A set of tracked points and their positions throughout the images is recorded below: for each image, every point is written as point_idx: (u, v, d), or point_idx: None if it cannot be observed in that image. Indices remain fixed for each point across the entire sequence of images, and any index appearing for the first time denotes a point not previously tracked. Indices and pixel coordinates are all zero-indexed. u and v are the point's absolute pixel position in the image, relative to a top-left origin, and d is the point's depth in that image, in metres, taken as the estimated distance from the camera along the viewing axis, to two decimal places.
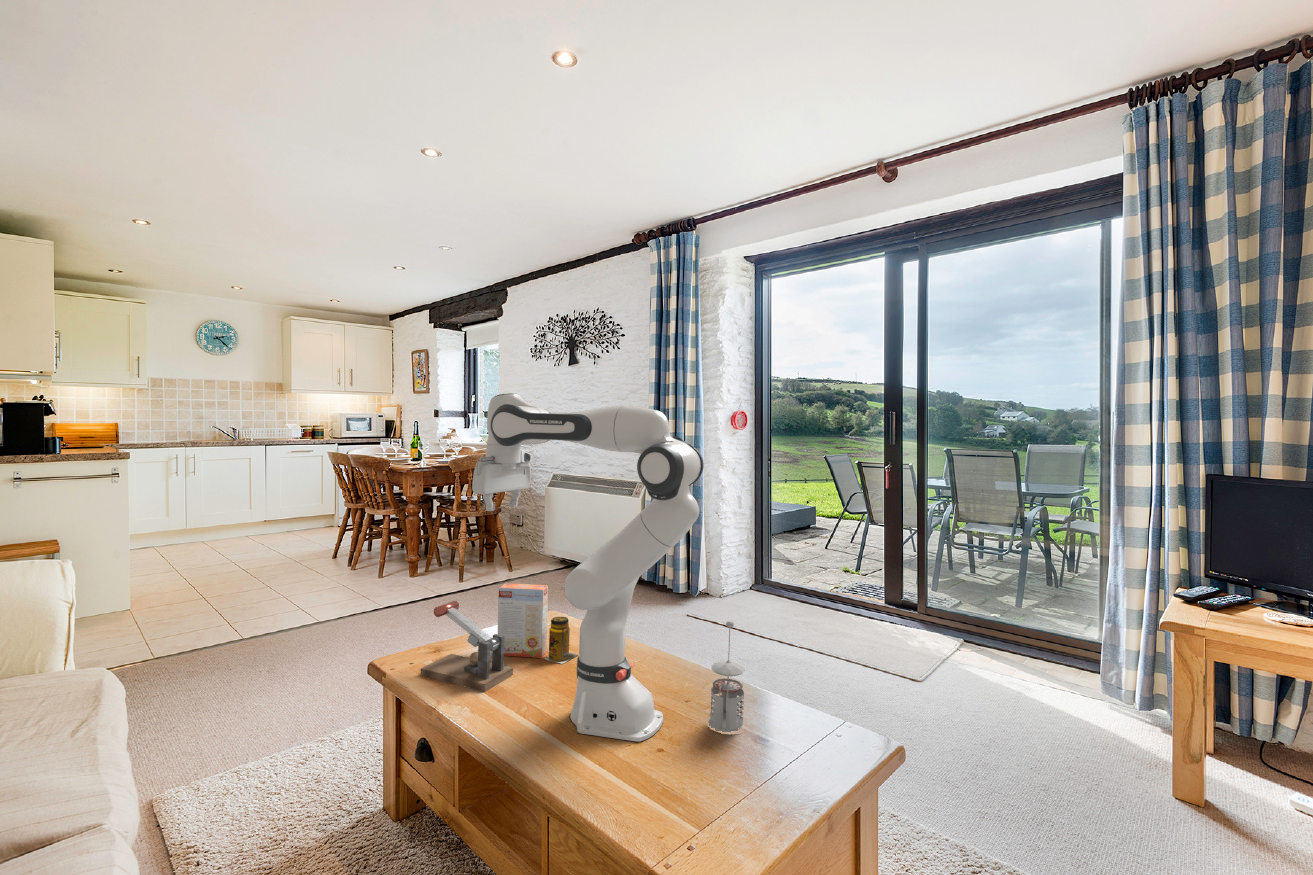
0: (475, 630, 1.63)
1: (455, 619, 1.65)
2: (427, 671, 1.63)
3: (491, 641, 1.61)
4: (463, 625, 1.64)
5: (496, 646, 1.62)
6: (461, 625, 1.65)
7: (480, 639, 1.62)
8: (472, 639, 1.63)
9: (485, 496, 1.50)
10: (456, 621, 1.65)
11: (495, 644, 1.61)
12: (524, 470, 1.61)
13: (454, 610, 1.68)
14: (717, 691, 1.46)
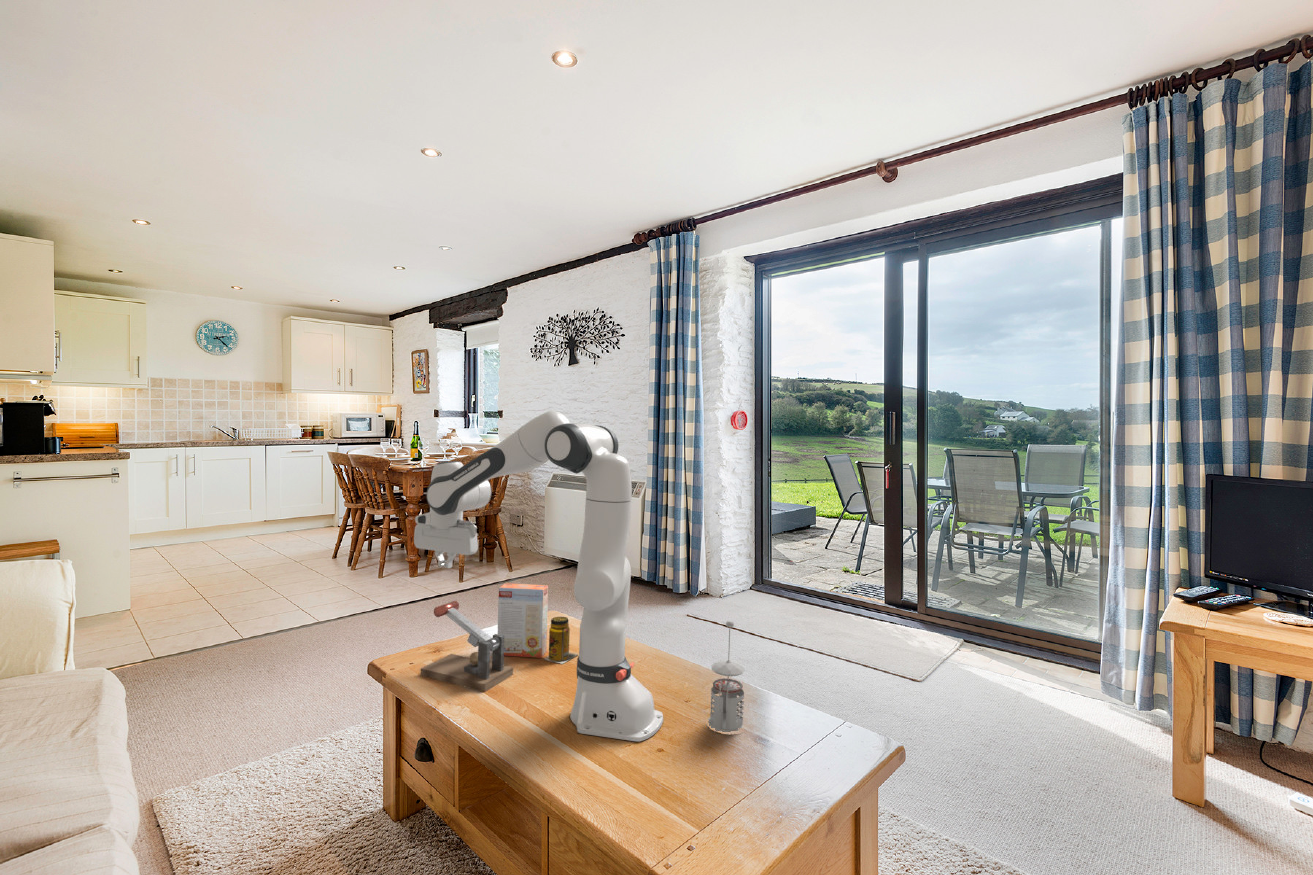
0: (475, 630, 1.63)
1: (455, 619, 1.65)
2: (427, 671, 1.63)
3: (491, 641, 1.61)
4: (463, 625, 1.64)
5: (496, 646, 1.62)
6: (461, 625, 1.65)
7: (480, 639, 1.62)
8: (472, 639, 1.63)
9: (452, 555, 1.67)
10: (456, 621, 1.65)
11: (495, 644, 1.61)
12: None
13: (454, 610, 1.68)
14: (717, 691, 1.46)
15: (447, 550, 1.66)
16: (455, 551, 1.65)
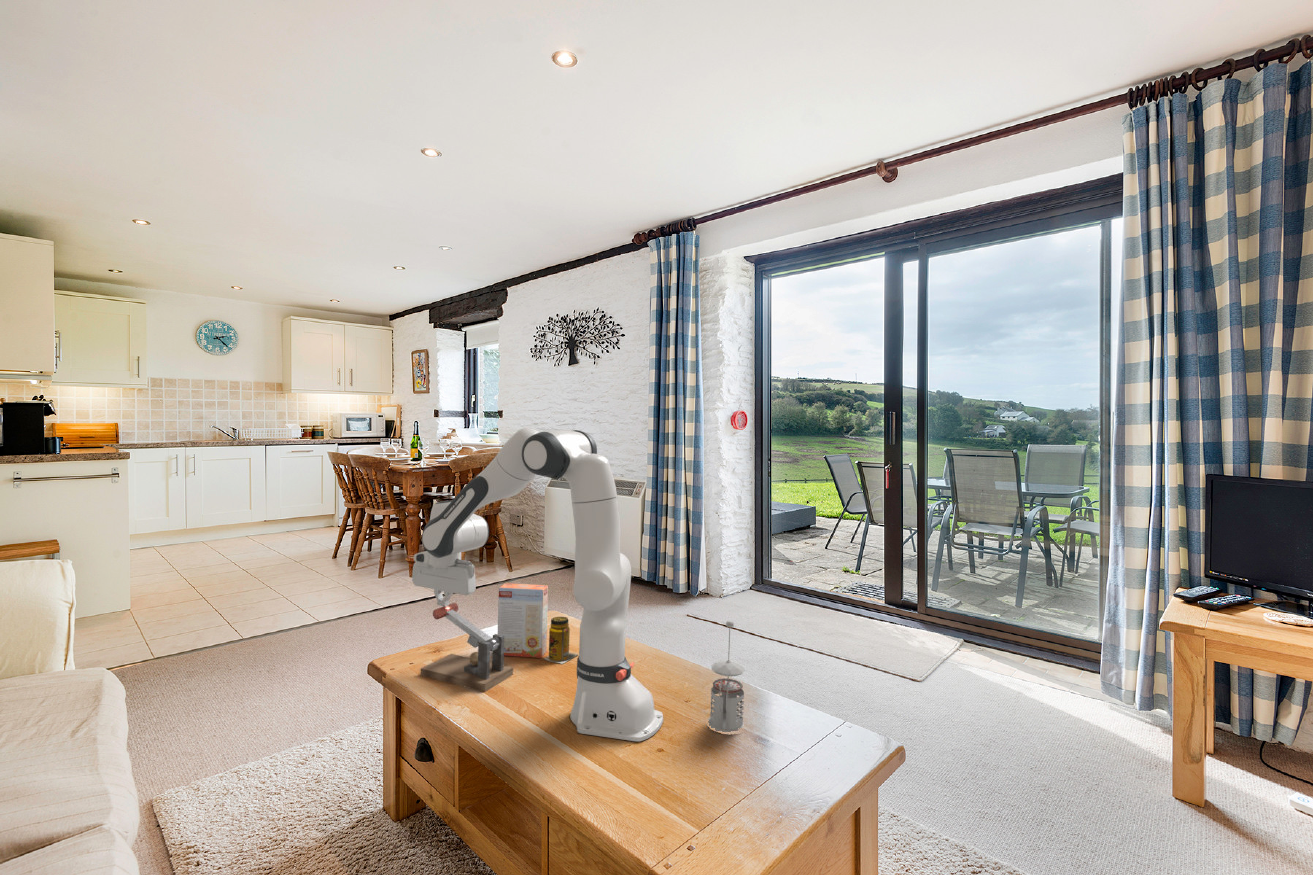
0: (474, 631, 1.63)
1: (455, 621, 1.65)
2: (427, 671, 1.63)
3: (491, 641, 1.61)
4: (462, 626, 1.64)
5: (496, 646, 1.62)
6: (461, 626, 1.65)
7: (480, 639, 1.62)
8: (472, 640, 1.63)
9: (449, 593, 1.67)
10: (455, 623, 1.65)
11: (495, 644, 1.61)
12: None
13: (453, 612, 1.68)
14: (717, 691, 1.46)
15: (445, 589, 1.66)
16: (453, 591, 1.65)
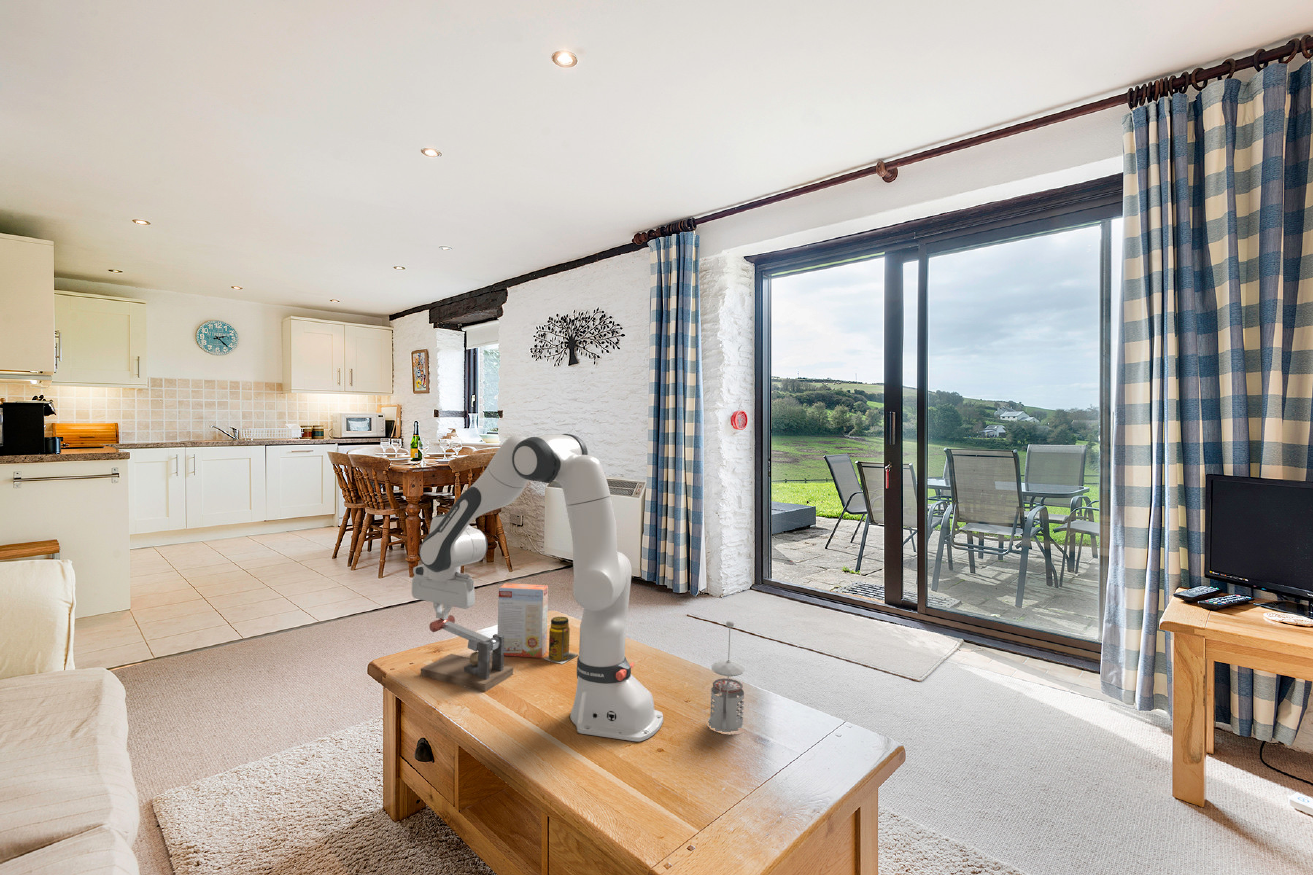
0: (473, 635, 1.63)
1: (452, 630, 1.66)
2: (427, 671, 1.63)
3: (490, 640, 1.61)
4: (461, 633, 1.65)
5: (496, 645, 1.62)
6: (459, 634, 1.65)
7: None
8: (472, 644, 1.63)
9: (448, 606, 1.67)
10: (453, 632, 1.66)
11: (495, 643, 1.61)
12: None
13: (450, 622, 1.68)
14: (717, 691, 1.46)
15: (444, 602, 1.66)
16: (452, 604, 1.65)
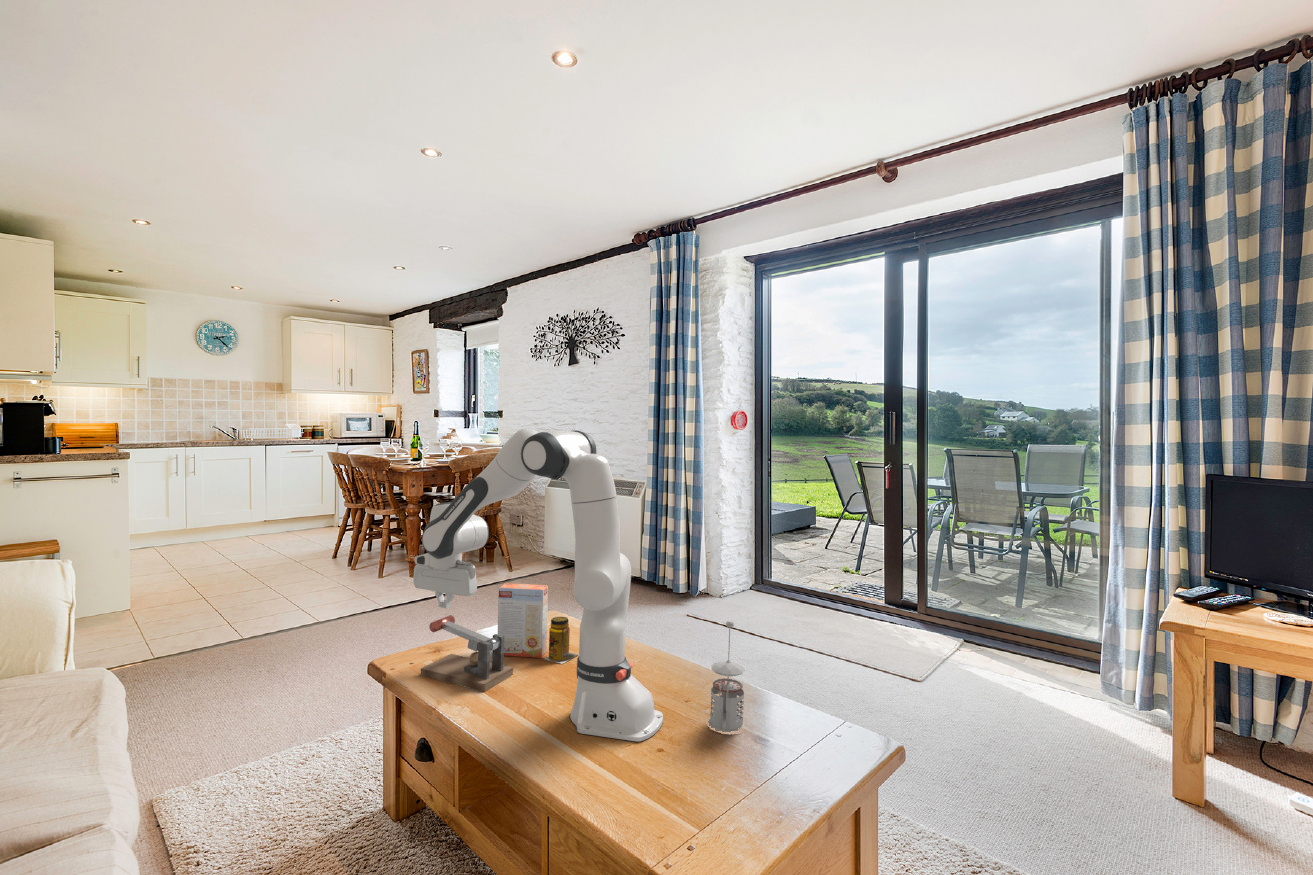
0: (473, 635, 1.63)
1: (452, 630, 1.66)
2: (427, 671, 1.63)
3: (490, 640, 1.61)
4: (461, 633, 1.65)
5: (496, 645, 1.62)
6: (459, 634, 1.65)
7: None
8: (472, 644, 1.63)
9: (451, 595, 1.67)
10: (453, 632, 1.66)
11: (495, 643, 1.61)
12: None
13: (450, 623, 1.68)
14: (717, 691, 1.46)
15: (446, 591, 1.66)
16: (454, 592, 1.65)
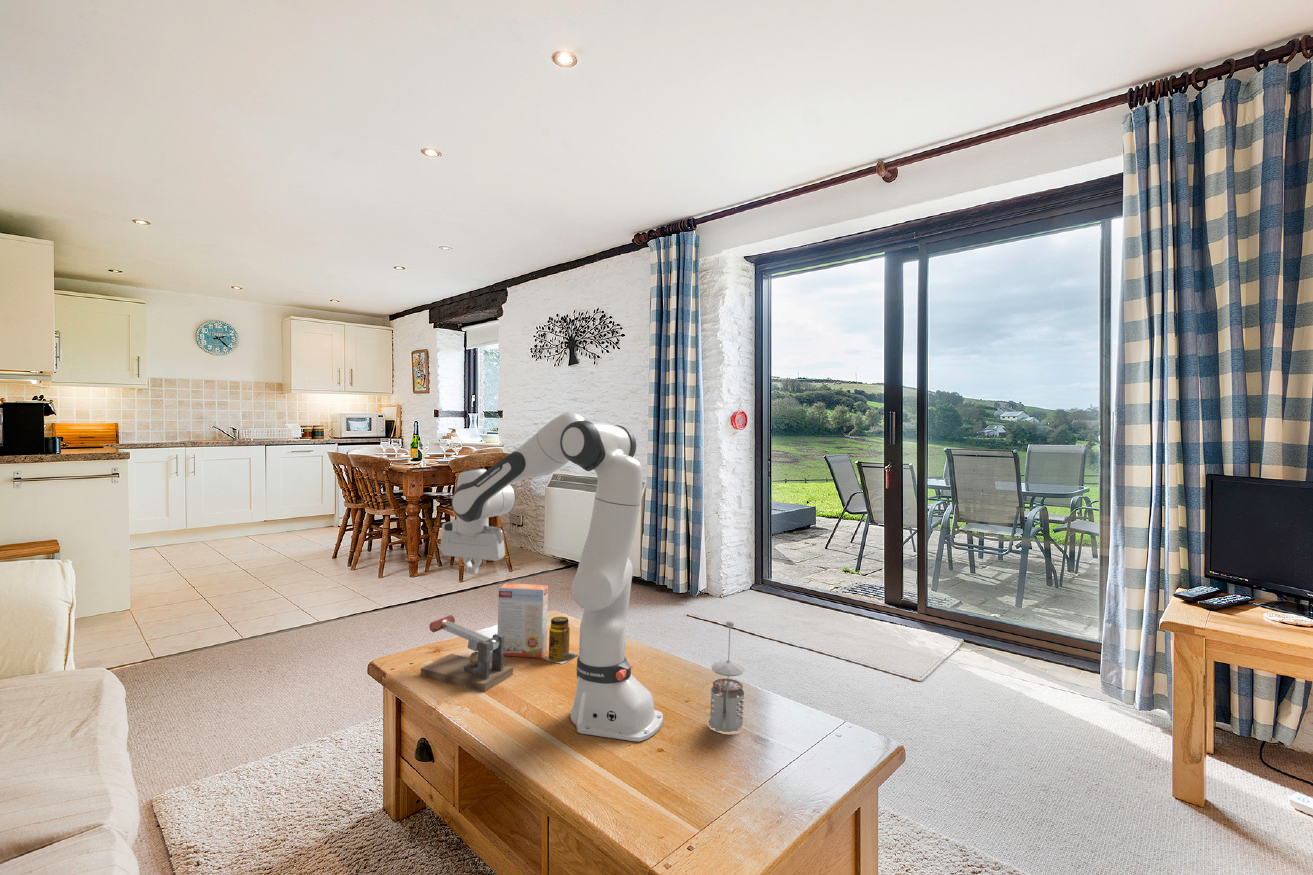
0: (473, 635, 1.63)
1: (452, 630, 1.66)
2: (427, 671, 1.63)
3: (490, 640, 1.61)
4: (461, 633, 1.65)
5: (496, 645, 1.62)
6: (459, 634, 1.65)
7: None
8: (472, 644, 1.63)
9: (479, 560, 1.69)
10: (453, 632, 1.66)
11: (495, 643, 1.61)
12: None
13: (450, 623, 1.68)
14: (717, 691, 1.46)
15: (474, 556, 1.68)
16: (483, 557, 1.67)
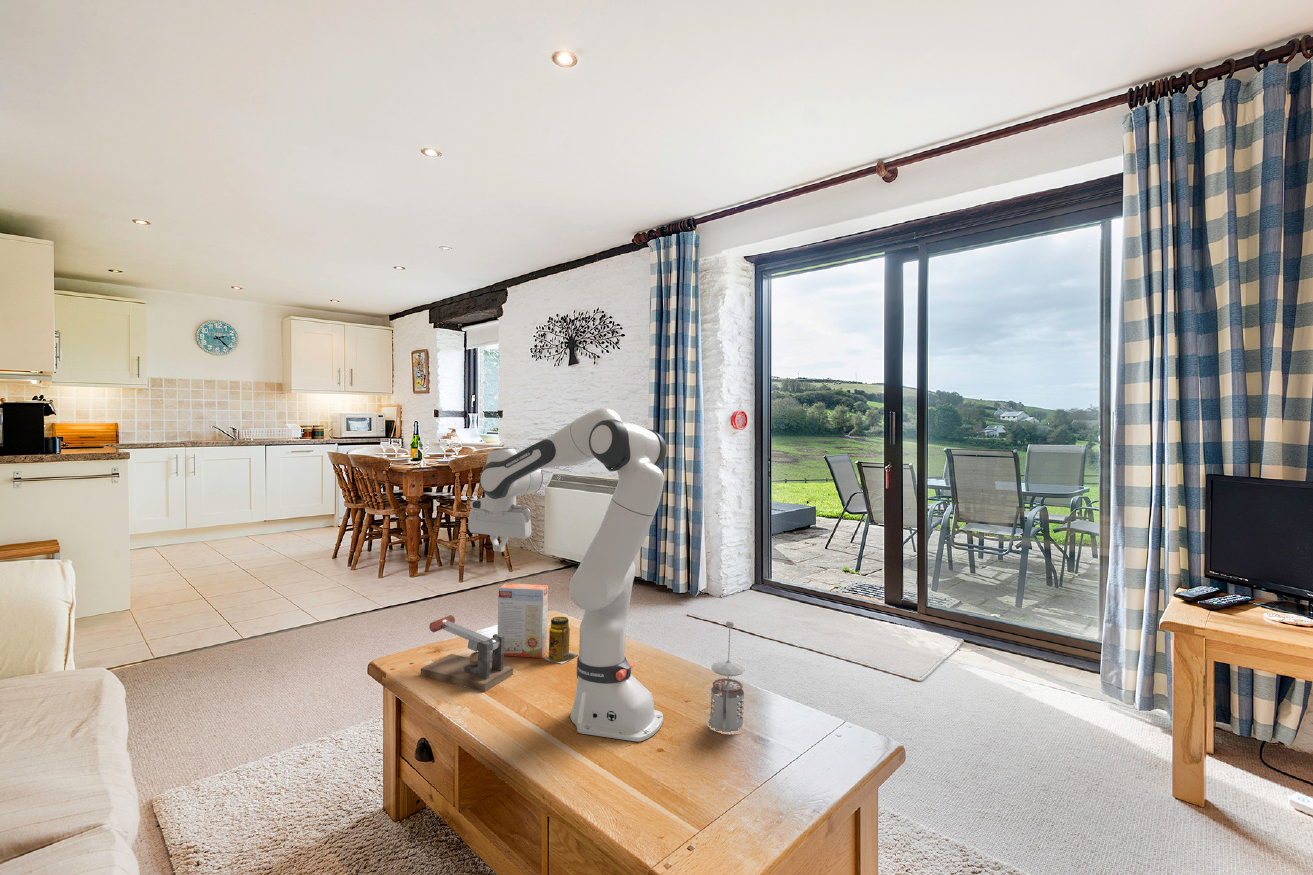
0: (473, 635, 1.63)
1: (452, 630, 1.66)
2: (427, 671, 1.63)
3: (490, 640, 1.61)
4: (461, 633, 1.65)
5: (496, 645, 1.62)
6: (459, 634, 1.65)
7: None
8: (472, 644, 1.63)
9: (505, 538, 1.72)
10: (453, 632, 1.66)
11: (495, 643, 1.61)
12: None
13: (450, 623, 1.68)
14: (717, 691, 1.46)
15: (502, 534, 1.71)
16: (510, 535, 1.69)
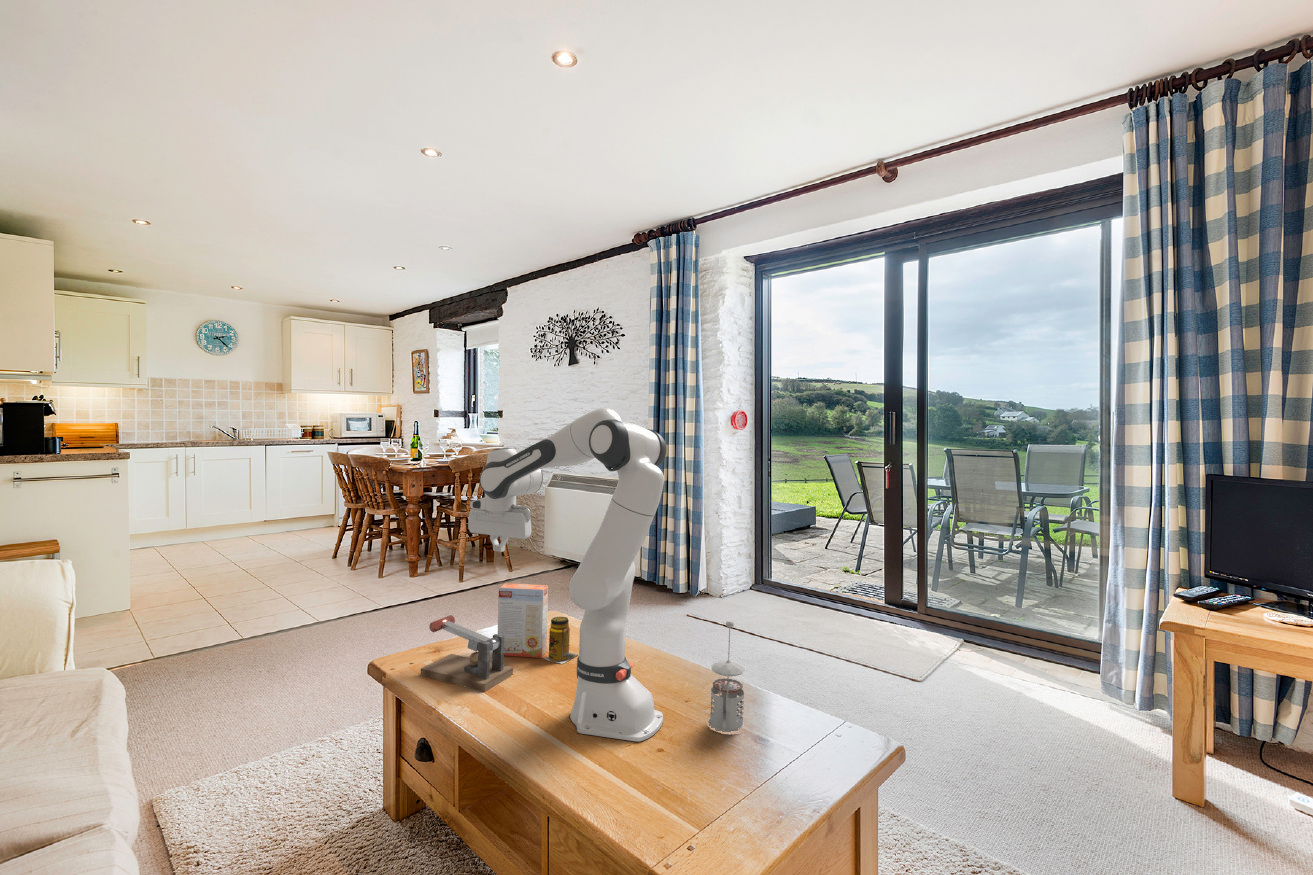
0: (473, 635, 1.63)
1: (452, 630, 1.66)
2: (427, 671, 1.63)
3: (490, 640, 1.61)
4: (461, 633, 1.65)
5: (496, 645, 1.62)
6: (459, 634, 1.65)
7: None
8: (472, 644, 1.63)
9: (505, 538, 1.72)
10: (453, 632, 1.66)
11: (495, 643, 1.61)
12: None
13: (450, 623, 1.68)
14: (717, 691, 1.46)
15: (502, 534, 1.71)
16: (510, 535, 1.69)
